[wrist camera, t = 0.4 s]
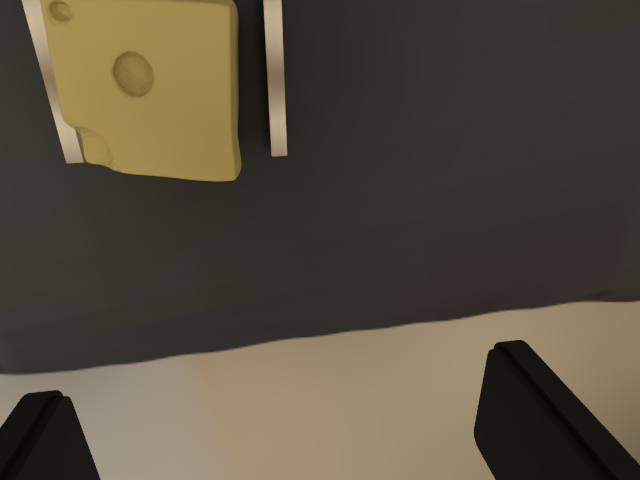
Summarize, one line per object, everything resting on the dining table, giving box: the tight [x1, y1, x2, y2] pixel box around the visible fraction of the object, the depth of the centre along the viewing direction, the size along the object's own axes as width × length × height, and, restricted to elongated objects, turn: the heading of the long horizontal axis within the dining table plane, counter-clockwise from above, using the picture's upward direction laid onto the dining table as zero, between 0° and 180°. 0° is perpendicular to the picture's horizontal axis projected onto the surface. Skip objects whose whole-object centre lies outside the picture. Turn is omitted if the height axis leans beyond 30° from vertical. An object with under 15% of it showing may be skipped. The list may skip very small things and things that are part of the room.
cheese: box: [40, 0, 241, 181], centre depth 28 cm, size 10×11×10 cm
